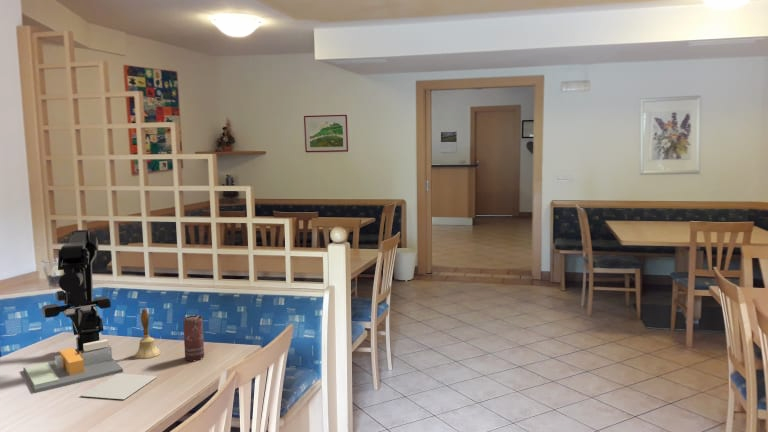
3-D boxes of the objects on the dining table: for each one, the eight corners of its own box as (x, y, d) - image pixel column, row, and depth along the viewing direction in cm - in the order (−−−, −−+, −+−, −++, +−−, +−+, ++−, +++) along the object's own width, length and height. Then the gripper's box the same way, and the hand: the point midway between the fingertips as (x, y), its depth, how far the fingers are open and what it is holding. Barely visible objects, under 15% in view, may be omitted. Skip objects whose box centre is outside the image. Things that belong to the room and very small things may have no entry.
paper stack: (186, 380, 176) (186, 378, 176) (137, 417, 151) (137, 415, 151) (117, 375, 180) (117, 373, 180) (58, 411, 155) (58, 408, 155)
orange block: (74, 359, 190) (73, 348, 190) (84, 372, 179) (83, 359, 179) (60, 362, 187) (59, 350, 187) (69, 375, 177) (69, 362, 176)
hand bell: (136, 360, 192) (133, 313, 190) (133, 353, 199) (130, 308, 197) (162, 356, 196) (160, 310, 194) (158, 348, 203) (156, 304, 201)
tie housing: (109, 357, 192) (108, 344, 191) (112, 360, 189) (111, 347, 189) (55, 369, 182) (54, 356, 181) (57, 372, 179) (56, 358, 179)
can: (208, 355, 195) (206, 315, 194) (196, 362, 189) (194, 320, 188) (193, 353, 197) (191, 314, 196) (181, 360, 191) (179, 319, 190)
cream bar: (106, 345, 190) (106, 339, 190) (108, 346, 189) (108, 340, 189) (83, 349, 186) (83, 343, 186) (84, 351, 184) (84, 345, 184)
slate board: (104, 353, 199) (104, 350, 199) (123, 371, 182) (122, 368, 182) (23, 370, 184) (23, 367, 183) (35, 392, 167) (35, 389, 167)
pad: (47, 363, 187) (47, 362, 187) (59, 380, 173) (59, 379, 173) (24, 368, 183) (24, 367, 183) (34, 385, 169) (34, 384, 169)
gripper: (100, 276, 194) (103, 321, 196) (37, 285, 182) (40, 333, 184) (109, 282, 185) (112, 329, 187) (43, 291, 174) (47, 341, 175)
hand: (79, 332), depth 184 cm, fingers closed
